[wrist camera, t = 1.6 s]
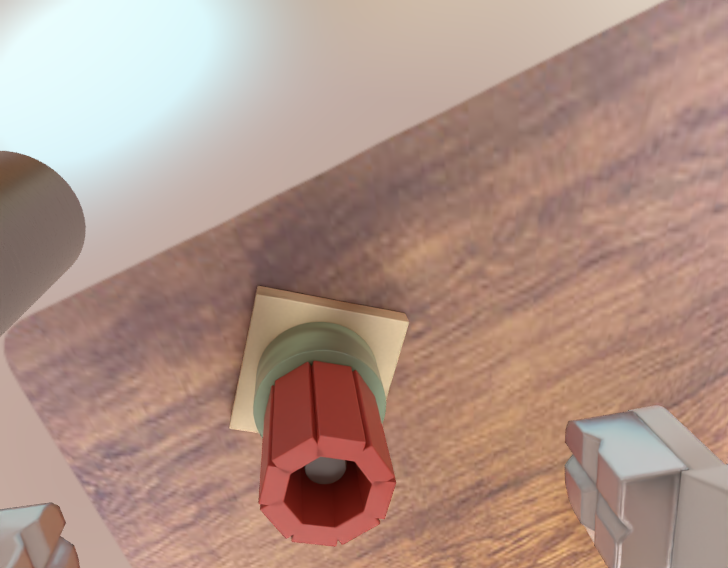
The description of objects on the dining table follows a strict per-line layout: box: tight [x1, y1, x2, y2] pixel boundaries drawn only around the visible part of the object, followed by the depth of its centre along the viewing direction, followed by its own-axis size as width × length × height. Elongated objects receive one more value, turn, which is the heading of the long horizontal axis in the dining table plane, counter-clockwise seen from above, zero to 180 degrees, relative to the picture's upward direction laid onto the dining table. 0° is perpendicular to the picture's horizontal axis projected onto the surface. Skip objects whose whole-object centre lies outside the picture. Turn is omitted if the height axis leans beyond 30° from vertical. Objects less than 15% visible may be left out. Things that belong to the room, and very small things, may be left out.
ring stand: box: [229, 286, 409, 484], centre depth 37 cm, size 10×10×11 cm
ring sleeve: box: [259, 361, 396, 546], centre depth 33 cm, size 6×6×8 cm
